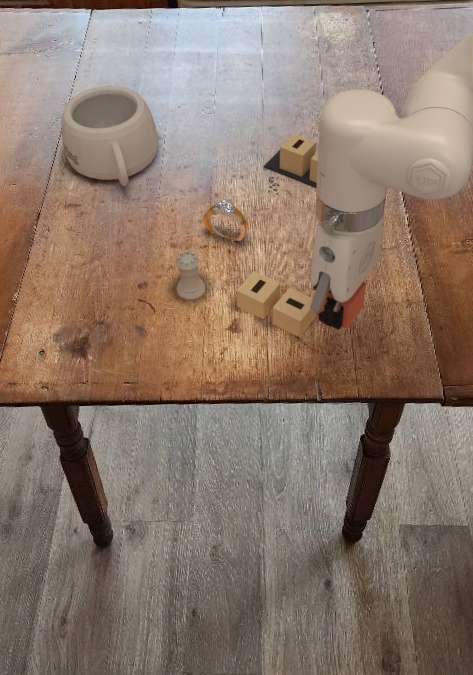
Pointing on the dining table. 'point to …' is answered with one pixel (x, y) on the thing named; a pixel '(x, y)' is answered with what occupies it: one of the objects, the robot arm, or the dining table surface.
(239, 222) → the ring
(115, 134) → the mug
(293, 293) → the slotted blocks
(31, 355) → the dining table surface
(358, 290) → the red block
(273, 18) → the dining table surface
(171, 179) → the dining table surface
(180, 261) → the rook chess piece
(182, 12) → the dining table surface
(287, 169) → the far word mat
